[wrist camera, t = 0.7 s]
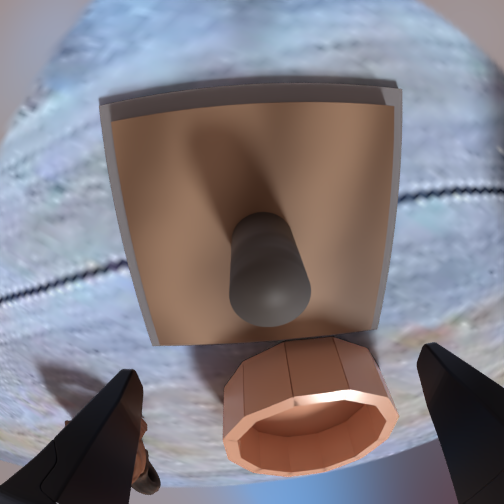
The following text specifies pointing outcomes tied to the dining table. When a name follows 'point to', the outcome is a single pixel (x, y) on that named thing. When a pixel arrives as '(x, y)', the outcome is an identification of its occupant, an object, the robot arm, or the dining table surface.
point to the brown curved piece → (143, 468)
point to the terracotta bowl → (306, 408)
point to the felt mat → (247, 96)
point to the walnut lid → (258, 217)
